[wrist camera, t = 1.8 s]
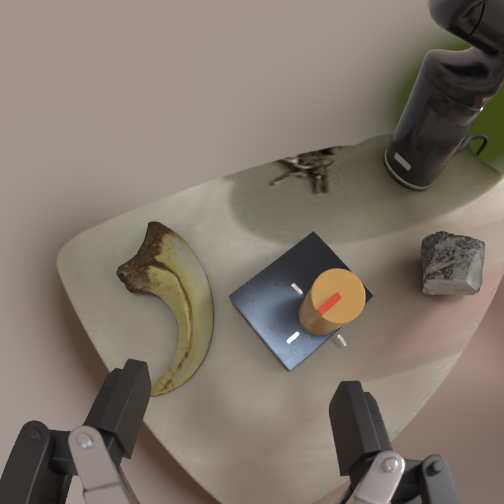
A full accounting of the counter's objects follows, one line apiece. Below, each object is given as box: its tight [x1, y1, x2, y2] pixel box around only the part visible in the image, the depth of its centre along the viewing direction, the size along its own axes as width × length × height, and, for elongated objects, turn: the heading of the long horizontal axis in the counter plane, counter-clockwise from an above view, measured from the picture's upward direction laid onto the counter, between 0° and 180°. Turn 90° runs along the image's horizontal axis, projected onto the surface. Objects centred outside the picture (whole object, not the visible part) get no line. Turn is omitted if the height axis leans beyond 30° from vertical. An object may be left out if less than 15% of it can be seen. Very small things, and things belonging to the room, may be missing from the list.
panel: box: [229, 231, 373, 371], centre depth 30 cm, size 12×12×3 cm
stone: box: [421, 231, 485, 295], centre depth 28 cm, size 10×10×10 cm
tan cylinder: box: [299, 268, 366, 336], centre depth 24 cm, size 4×4×8 cm
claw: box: [117, 222, 213, 397], centre depth 30 cm, size 20×10×3 cm, turn 20°
